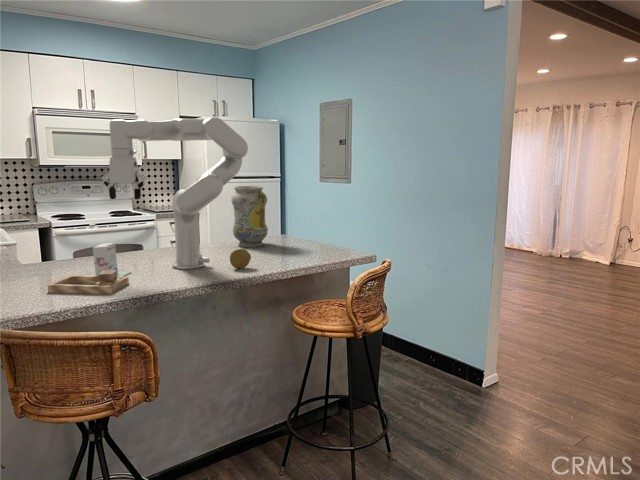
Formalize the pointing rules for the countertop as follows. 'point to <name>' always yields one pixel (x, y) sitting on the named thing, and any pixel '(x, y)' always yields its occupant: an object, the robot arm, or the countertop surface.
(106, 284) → the offcut low
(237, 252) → the potato
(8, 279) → the countertop surface
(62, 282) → the frame
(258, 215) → the vase
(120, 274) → the mat
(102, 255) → the ink box
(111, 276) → the offcut top
